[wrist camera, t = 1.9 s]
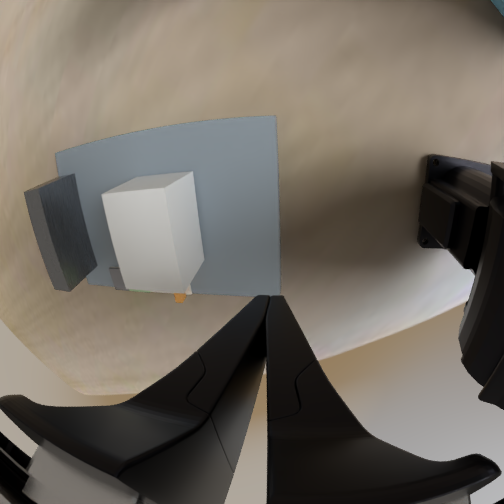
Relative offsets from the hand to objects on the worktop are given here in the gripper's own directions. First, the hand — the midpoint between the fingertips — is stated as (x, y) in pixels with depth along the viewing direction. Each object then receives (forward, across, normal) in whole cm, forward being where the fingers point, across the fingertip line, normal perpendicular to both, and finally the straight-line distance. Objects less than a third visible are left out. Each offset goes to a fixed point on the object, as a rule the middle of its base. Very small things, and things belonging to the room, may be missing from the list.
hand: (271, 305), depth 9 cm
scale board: (+10, +9, 0) cm, 13 cm away
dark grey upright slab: (+9, +16, 0) cm, 19 cm away
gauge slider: (+9, +7, +1) cm, 11 cm away
